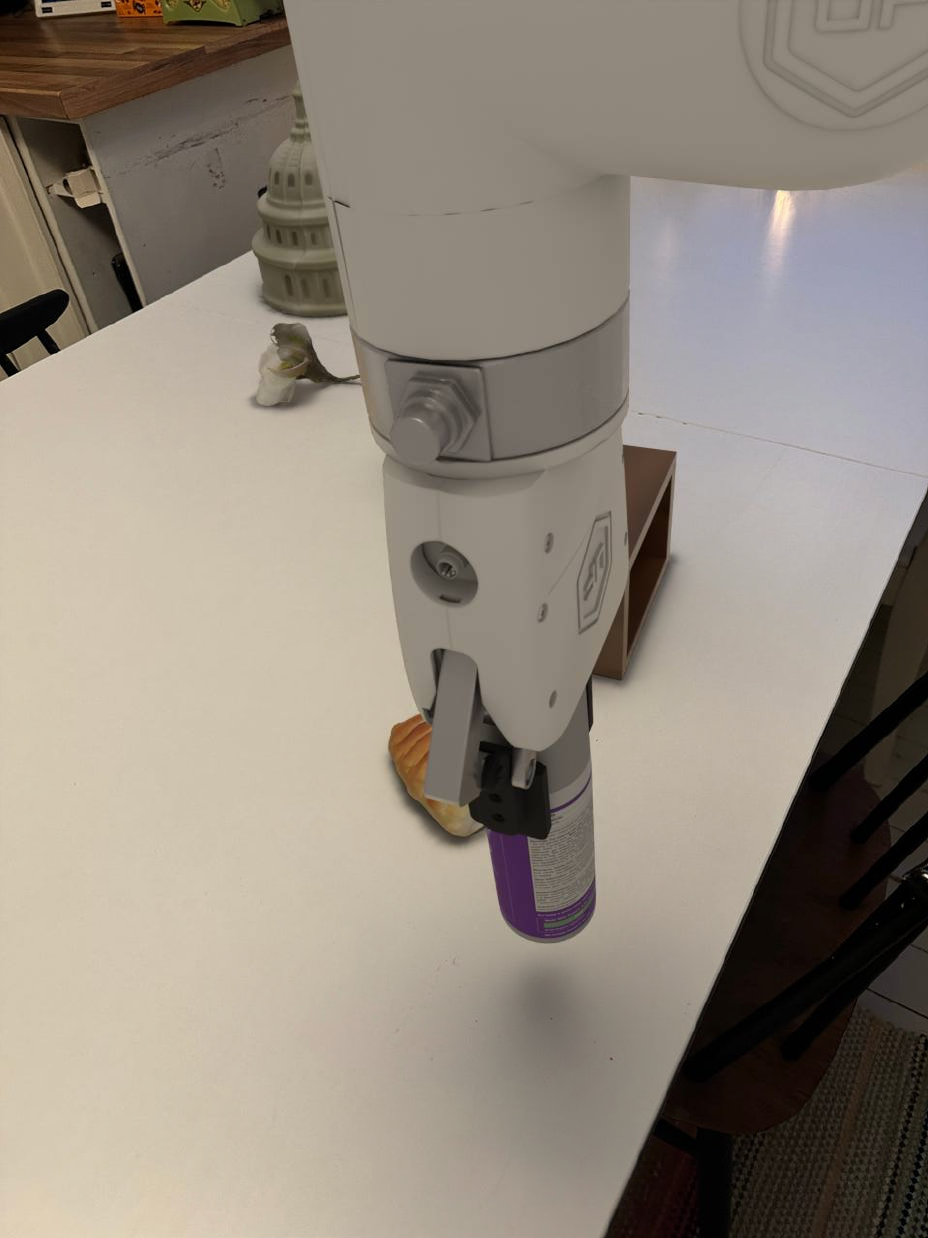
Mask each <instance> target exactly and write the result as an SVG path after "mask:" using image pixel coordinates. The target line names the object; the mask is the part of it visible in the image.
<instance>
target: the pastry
mask: <svg viewBox="0 0 928 1238" xmlns="http://www.w3.org/2000/svg"><path fill="white" fill-rule="evenodd" d="M432 726H433V725H429V724H427V723H426V721H425V720H424V719H423V718H422V716H421V714H420V713H418V714H416V715H413V716H412V717H411V716H410V718H407V719H406V720H405V721H402V722H398V723H395V724H394V725H393V726H392V728H391V730H390V736H389V738H388V745H387V750H388V754H389V755H390V757H391V759H392V761H393V762H394V765H395V771H396V774H397V775H399V777H400V778H401V780H402V782H403V783H404V785H405V787H406V791H407V793H408V795H409V796H410V797H411V798H412V799H413V800H415V801H417V802H419V803H420V804H421V805H422V807H423V808H424V809H425V810H426V811H427V813H428V814H429V815H431V817H432V818H433V819H434V820H435V821H436V822H437V823H438V825H440V826H441V828H442V829H444V830H445V831H446V832H448V833H449V834H452V835H453V836H458V837H463V838H464V837H468V836H471V835H473V834H474V833H475V832H476V833H477V831H478V830H480V829H481V828H483V827H485V826H484V825H483V824H481V823H478V822H476V821H475V820H473V819H472V818H471V816H470V811H469V806H468V804H467V805H465V806H464V807H458V806H454V805H450V804H447V803H443V802H439V801H436V800H432V799H428V798H426V797H425V796H424V782H425V775H426V768H427V761H428V754H429V747H430V740H431V733H432Z"/></svg>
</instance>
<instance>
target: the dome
mask: <svg viewBox="0 0 928 1238" xmlns="http://www.w3.org/2000/svg"><path fill="white" fill-rule="evenodd" d="M291 97H292V99H293V100H294V104H295V113H296V117H295V119H294V125H295V126H293V127H291V129H290V130H289V134H290V135H289V137H288V138H287V139H285V140H284V141H282V142H281V143H280V145H279V146H278V147H277V148H276V149H275V150H274V152H273V153H272V155H271V156H270V157H271V158H270V159H269V162H268V166H267V172H266V187H267V189H266V192H265V193H263V194H262V195H261V196H260V197H259V199H258V200H257V202H256V212H257V214H258V216H259V218H260V219H261V224H262V225H261V226H262V227H260V229H258V231H256V232H255V234H254V235H253V237H252V239H251V250H252V253H253V255H254V257H256V258H257V264H258V268H259V272H260V276H261V281H262V284H261V295H262V297H263V299H264V301H265V302H266V303H267V304H268V305H269V306H271V307H272V308H274V309H276V310H278V311H281V312H284V313H287V314H291V315H297V316H300V317H301V316H302V317H332V316H342V315H348V313H347V308H346V304H345V299H344V294H343V289H342V284H341V279H340V274H339V269H338V265H337V260H336V255H335V250H334V245H333V240H332V235H331V230H330V226H329V221H328V216H327V211H326V206H325V202H324V197H323V192H322V188H321V183H320V178H319V173H318V169H317V164H316V159H315V154H314V149H313V144H312V139H311V135H310V130H309V125H308V120H307V115H306V110H305V105H304V101H303V96H302V91H301V86H300V81H299V76H298V75H297V81H296V83H295V86H294V89H293V90H292V92H291Z"/></svg>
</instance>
